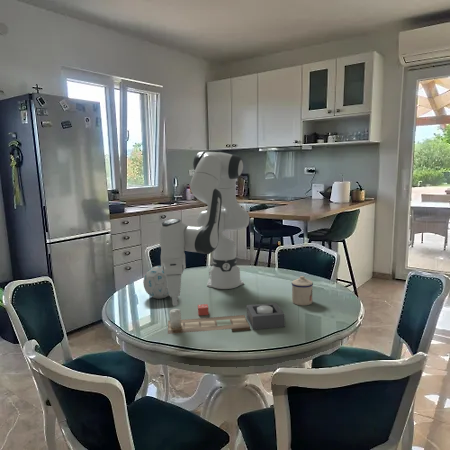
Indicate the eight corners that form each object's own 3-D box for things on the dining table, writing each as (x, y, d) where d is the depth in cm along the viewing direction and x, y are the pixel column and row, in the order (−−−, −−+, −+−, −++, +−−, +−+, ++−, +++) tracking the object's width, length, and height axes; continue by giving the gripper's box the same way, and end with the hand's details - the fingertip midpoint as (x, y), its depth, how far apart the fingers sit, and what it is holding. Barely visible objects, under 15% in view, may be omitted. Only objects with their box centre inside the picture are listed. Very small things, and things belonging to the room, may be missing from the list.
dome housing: (246, 317, 152) (246, 305, 151) (276, 314, 153) (276, 302, 152) (252, 329, 140) (252, 316, 139) (284, 326, 141) (284, 314, 141)
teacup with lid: (314, 305, 162) (314, 279, 160) (293, 306, 162) (293, 279, 160) (309, 296, 173) (309, 271, 172) (289, 296, 174) (289, 271, 172)
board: (168, 323, 148) (168, 320, 148) (244, 317, 151) (244, 314, 151) (167, 336, 136) (167, 333, 136) (250, 329, 140) (250, 327, 140)
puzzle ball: (143, 304, 169) (141, 271, 167) (145, 293, 184) (143, 263, 182) (177, 301, 172) (176, 269, 169) (176, 291, 186) (175, 261, 184)
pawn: (171, 324, 144) (170, 309, 143) (181, 323, 144) (180, 308, 143) (170, 328, 140) (169, 313, 139) (181, 328, 140) (180, 312, 139)
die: (198, 314, 156) (197, 304, 156) (207, 313, 157) (207, 303, 156) (198, 317, 152) (198, 308, 152) (208, 317, 153) (208, 307, 152)
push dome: (255, 313, 149) (255, 306, 148) (270, 312, 149) (270, 304, 149) (258, 319, 143) (258, 311, 142) (274, 318, 144) (274, 310, 143)
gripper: (165, 258, 148) (166, 292, 150) (163, 271, 128) (165, 310, 130) (181, 257, 149) (183, 291, 151) (182, 270, 129) (184, 309, 131)
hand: (175, 300), depth 140 cm, fingers open, 8 cm apart
